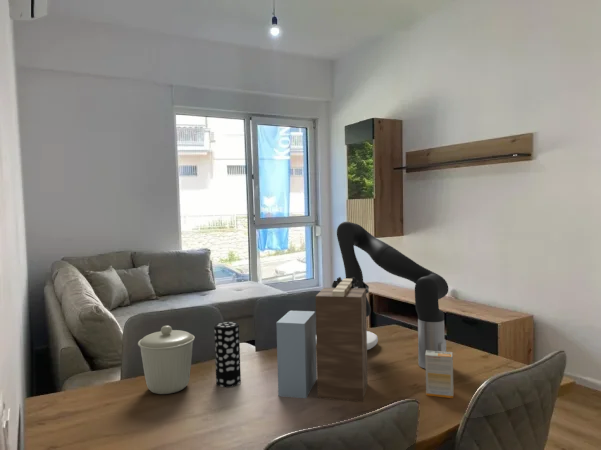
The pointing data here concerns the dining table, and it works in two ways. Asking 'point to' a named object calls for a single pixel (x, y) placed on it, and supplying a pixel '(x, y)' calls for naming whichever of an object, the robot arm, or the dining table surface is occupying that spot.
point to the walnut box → (341, 345)
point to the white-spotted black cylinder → (227, 354)
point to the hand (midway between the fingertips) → (346, 279)
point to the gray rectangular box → (296, 353)
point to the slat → (342, 288)
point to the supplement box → (439, 373)
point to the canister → (167, 360)
